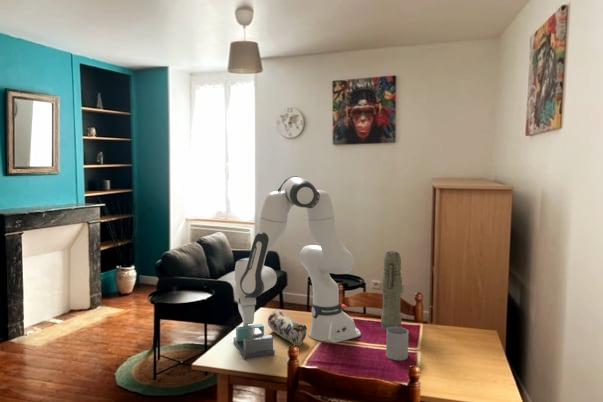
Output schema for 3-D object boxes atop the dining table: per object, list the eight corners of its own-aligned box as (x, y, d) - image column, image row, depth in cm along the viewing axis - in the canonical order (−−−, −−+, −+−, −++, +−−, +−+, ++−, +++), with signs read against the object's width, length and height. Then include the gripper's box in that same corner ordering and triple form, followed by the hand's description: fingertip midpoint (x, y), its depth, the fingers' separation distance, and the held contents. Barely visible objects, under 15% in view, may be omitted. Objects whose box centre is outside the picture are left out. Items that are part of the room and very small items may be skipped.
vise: (261, 338, 187) (261, 322, 187) (274, 355, 171) (274, 337, 170) (233, 342, 183) (233, 326, 182) (244, 360, 166) (244, 342, 166)
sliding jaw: (261, 335, 184) (261, 323, 184) (263, 337, 182) (263, 326, 181) (236, 339, 180) (236, 327, 180) (237, 341, 178) (237, 329, 177)
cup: (395, 362, 165) (395, 336, 164) (381, 353, 172) (382, 328, 171) (412, 357, 169) (413, 332, 168) (398, 349, 176) (399, 325, 175)
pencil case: (308, 343, 182) (308, 320, 181) (290, 348, 177) (290, 324, 177) (282, 327, 200) (282, 306, 200) (265, 331, 196) (265, 309, 195)
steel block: (257, 342, 178) (257, 327, 178) (262, 347, 172) (262, 333, 172) (248, 343, 176) (248, 329, 176) (252, 349, 171) (252, 334, 170)
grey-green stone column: (401, 324, 204) (402, 250, 201) (401, 334, 192) (402, 255, 189) (381, 323, 206) (383, 249, 203) (380, 332, 194) (381, 254, 191)
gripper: (234, 289, 195) (235, 319, 197) (241, 303, 176) (241, 336, 177) (248, 288, 197) (249, 318, 198) (256, 301, 178) (257, 335, 179)
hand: (245, 327), depth 187 cm, fingers closed
